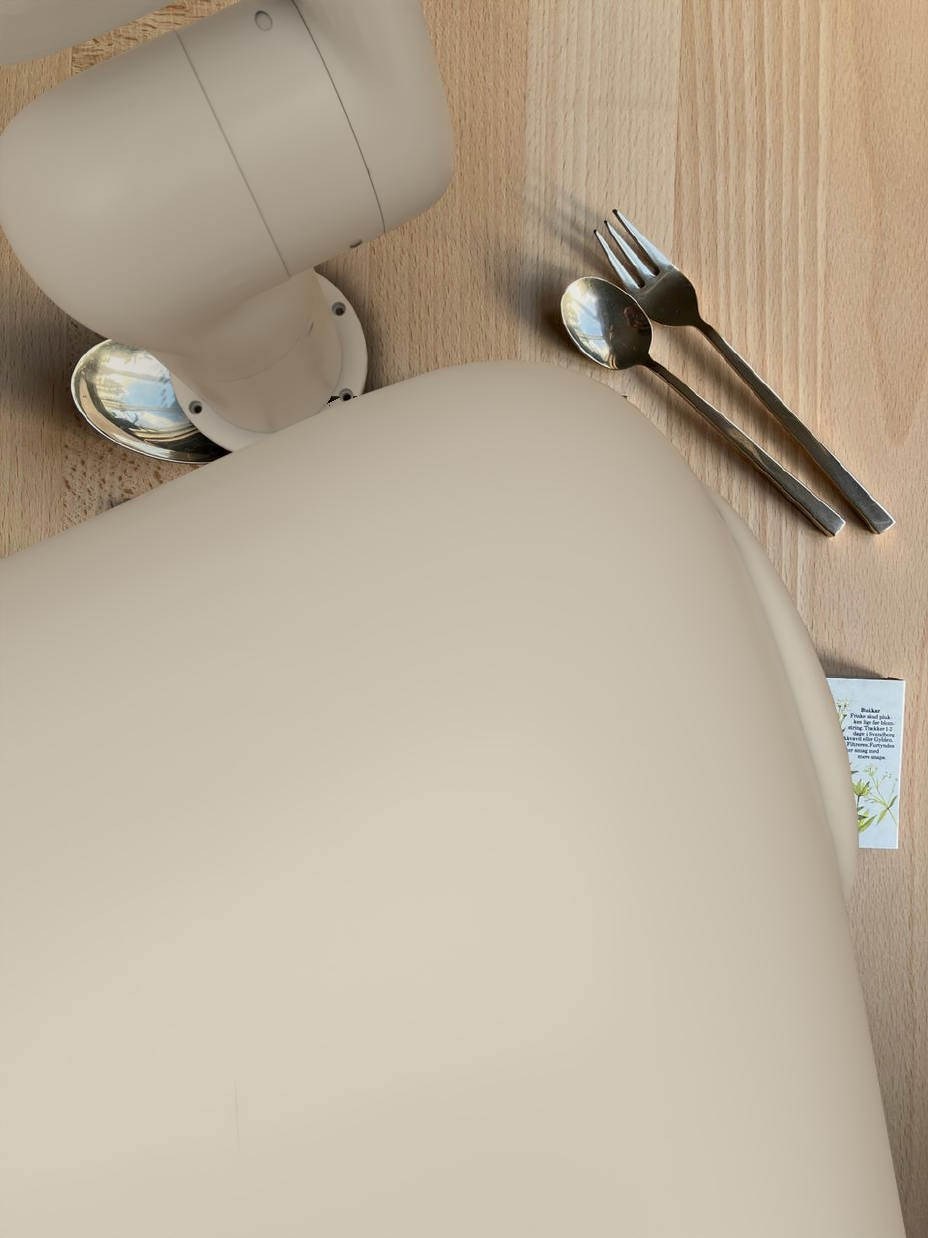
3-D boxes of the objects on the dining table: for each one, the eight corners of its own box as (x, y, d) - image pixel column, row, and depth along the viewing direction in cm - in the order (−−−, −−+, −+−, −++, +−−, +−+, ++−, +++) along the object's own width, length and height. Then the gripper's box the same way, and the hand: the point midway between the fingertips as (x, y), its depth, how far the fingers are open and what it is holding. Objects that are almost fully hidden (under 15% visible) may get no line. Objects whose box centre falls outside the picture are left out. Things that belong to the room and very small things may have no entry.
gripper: (984, 924, 18) (718, 773, 36) (-18, 1012, 18) (211, 816, 36) (1018, 1352, 18) (736, 991, 36) (18, 1449, 18) (229, 1036, 36)
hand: (475, 905), depth 36 cm, fingers closed on cup, 7 cm apart
